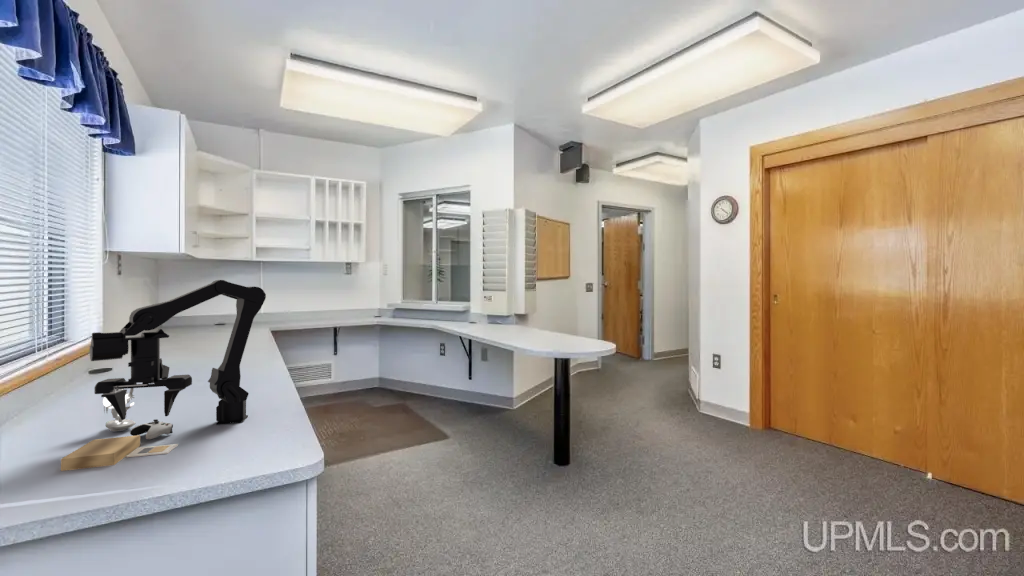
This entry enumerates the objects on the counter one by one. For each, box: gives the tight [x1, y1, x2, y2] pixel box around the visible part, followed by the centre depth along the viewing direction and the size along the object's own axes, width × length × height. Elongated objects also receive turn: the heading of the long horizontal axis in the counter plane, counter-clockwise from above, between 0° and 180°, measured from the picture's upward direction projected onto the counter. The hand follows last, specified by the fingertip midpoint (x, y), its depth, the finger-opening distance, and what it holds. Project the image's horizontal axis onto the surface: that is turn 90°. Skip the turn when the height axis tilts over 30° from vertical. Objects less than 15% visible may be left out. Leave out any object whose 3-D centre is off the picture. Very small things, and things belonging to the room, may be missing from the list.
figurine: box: [102, 388, 136, 433], centre depth 120 cm, size 9×6×12 cm
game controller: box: [129, 419, 174, 440], centre depth 115 cm, size 10×5×6 cm
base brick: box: [60, 434, 141, 472], centre depth 101 cm, size 9×13×3 cm
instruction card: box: [125, 443, 179, 458], centre depth 105 cm, size 8×6×1 cm
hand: (145, 417), depth 114 cm, fingers open, 9 cm apart
